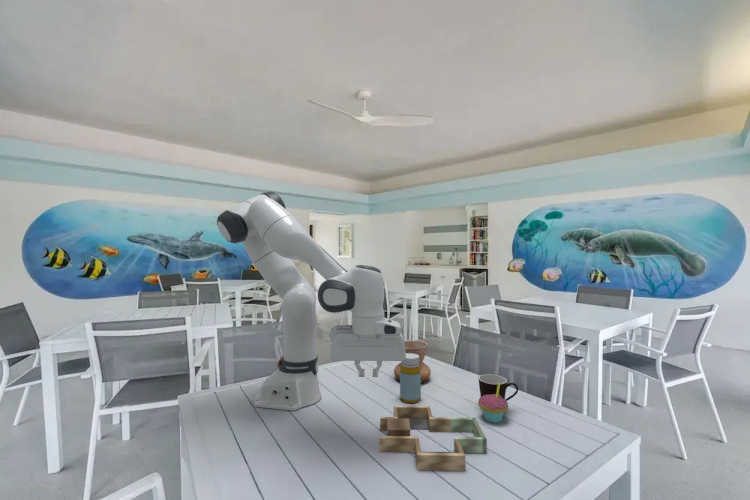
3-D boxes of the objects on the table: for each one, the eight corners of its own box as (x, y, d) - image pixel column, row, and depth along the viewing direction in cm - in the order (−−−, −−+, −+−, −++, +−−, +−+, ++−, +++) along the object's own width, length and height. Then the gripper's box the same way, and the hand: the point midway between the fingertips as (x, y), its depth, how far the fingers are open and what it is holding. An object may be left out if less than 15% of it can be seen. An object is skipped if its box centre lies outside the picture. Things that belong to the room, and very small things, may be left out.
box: (378, 469, 79) (378, 454, 79) (380, 417, 104) (380, 405, 104) (495, 471, 79) (495, 456, 79) (469, 417, 104) (469, 406, 104)
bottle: (420, 395, 120) (420, 352, 120) (421, 404, 113) (420, 359, 113) (400, 394, 120) (400, 352, 120) (399, 403, 114) (399, 358, 114)
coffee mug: (476, 413, 107) (475, 381, 107) (481, 402, 114) (481, 372, 114) (516, 421, 101) (515, 388, 101) (518, 409, 109) (518, 378, 109)
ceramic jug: (396, 370, 145) (395, 337, 144) (430, 371, 143) (430, 338, 142) (391, 388, 127) (391, 350, 127) (431, 390, 125) (430, 351, 124)
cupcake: (507, 414, 105) (507, 376, 105) (508, 428, 97) (508, 386, 97) (478, 410, 108) (478, 373, 108) (477, 423, 100) (477, 382, 100)
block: (387, 446, 89) (387, 429, 89) (387, 434, 95) (387, 418, 95) (410, 447, 89) (410, 429, 89) (408, 434, 95) (408, 418, 95)
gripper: (328, 327, 89) (328, 380, 89) (406, 328, 89) (406, 381, 89) (331, 322, 96) (332, 371, 96) (404, 322, 95) (405, 372, 95)
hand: (368, 376), depth 92 cm, fingers open, 2 cm apart
